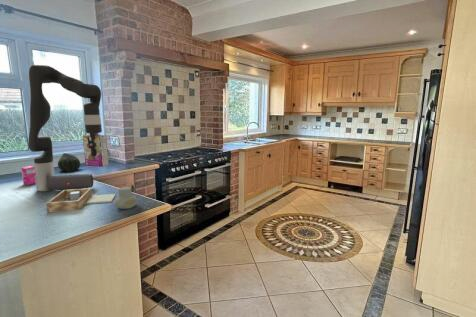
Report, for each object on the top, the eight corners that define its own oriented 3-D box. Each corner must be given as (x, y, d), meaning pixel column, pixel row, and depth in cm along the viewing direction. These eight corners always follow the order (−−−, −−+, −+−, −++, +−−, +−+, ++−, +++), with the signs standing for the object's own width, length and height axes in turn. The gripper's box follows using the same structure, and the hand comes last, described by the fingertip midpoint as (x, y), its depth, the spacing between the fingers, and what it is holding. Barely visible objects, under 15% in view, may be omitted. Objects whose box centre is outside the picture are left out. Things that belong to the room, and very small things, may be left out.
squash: (84, 163, 213) (76, 149, 216) (65, 167, 201) (56, 152, 204) (79, 173, 221) (71, 159, 224) (60, 177, 209) (52, 162, 211)
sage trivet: (86, 204, 138) (86, 202, 138) (92, 196, 150) (92, 195, 150) (111, 202, 141) (111, 200, 141) (115, 195, 153) (115, 193, 153)
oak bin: (47, 212, 127) (46, 203, 126) (64, 197, 148) (63, 190, 147) (79, 209, 131) (78, 201, 130) (91, 195, 151) (91, 188, 151)
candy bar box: (84, 166, 140) (81, 135, 138) (92, 164, 145) (89, 134, 142) (102, 167, 138) (99, 135, 135) (109, 165, 142) (106, 134, 140)
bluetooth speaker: (47, 194, 154) (45, 177, 152) (53, 189, 162) (51, 173, 160) (90, 191, 160) (89, 175, 158) (94, 186, 169) (92, 171, 167)
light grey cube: (70, 201, 143) (70, 194, 142) (72, 198, 146) (71, 192, 146) (79, 200, 144) (78, 193, 144) (80, 197, 148) (79, 191, 147)
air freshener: (132, 202, 141) (131, 184, 139) (140, 206, 136) (139, 187, 134) (112, 208, 133) (110, 189, 131) (120, 212, 128) (118, 192, 126)
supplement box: (22, 184, 173) (20, 167, 171) (33, 182, 178) (30, 165, 176) (27, 185, 170) (25, 168, 168) (37, 183, 176) (35, 166, 174)
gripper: (96, 124, 131) (99, 157, 134) (104, 122, 145) (107, 152, 148) (80, 124, 130) (83, 157, 133) (89, 123, 144) (92, 153, 147)
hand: (96, 154), depth 140 cm, fingers closed on candy bar box, 6 cm apart
